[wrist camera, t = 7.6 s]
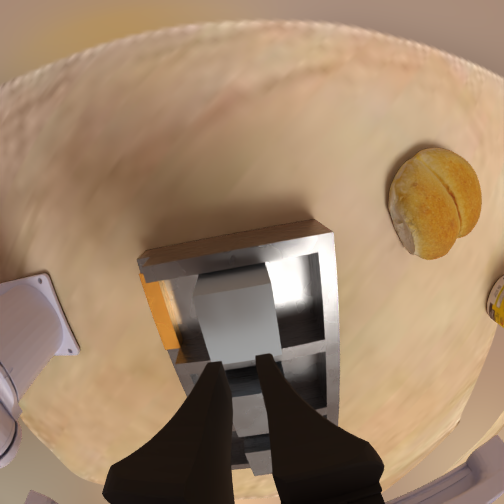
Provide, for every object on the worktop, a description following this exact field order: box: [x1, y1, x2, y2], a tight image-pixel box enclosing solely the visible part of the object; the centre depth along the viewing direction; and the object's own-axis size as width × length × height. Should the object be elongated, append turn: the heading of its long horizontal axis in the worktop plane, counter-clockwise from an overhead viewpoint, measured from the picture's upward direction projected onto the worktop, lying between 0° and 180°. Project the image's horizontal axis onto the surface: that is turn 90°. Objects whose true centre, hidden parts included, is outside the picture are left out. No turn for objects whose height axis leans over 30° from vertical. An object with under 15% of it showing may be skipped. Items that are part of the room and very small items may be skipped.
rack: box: [137, 219, 340, 476], centre depth 20 cm, size 12×22×6 cm, turn 10°
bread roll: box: [388, 148, 482, 260], centre depth 18 cm, size 8×9×4 cm
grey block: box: [192, 262, 282, 364], centre depth 17 cm, size 4×4×5 cm
